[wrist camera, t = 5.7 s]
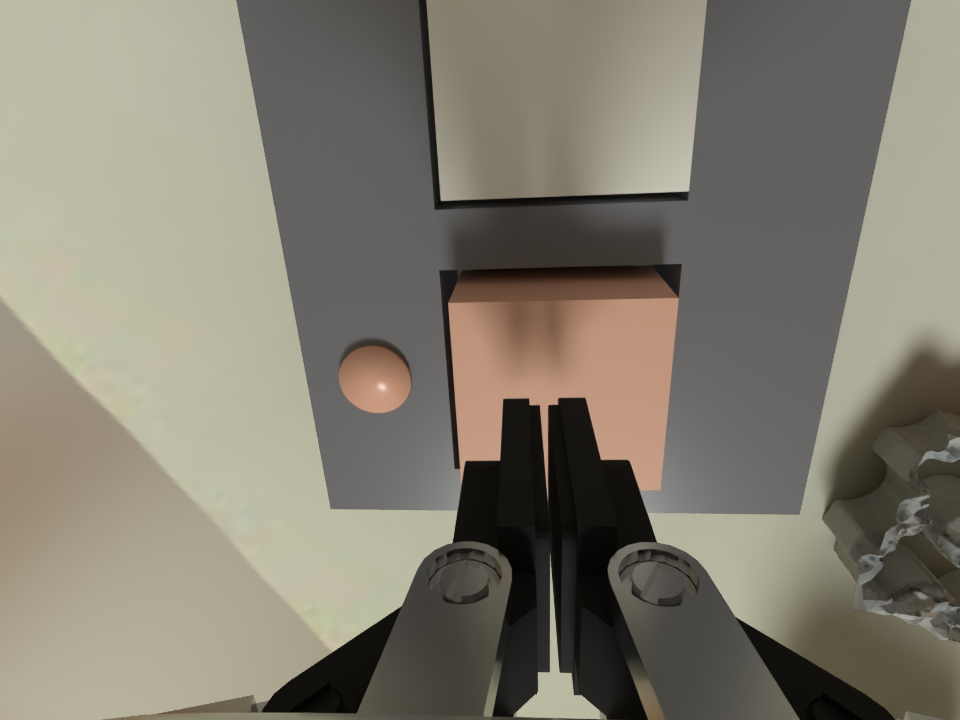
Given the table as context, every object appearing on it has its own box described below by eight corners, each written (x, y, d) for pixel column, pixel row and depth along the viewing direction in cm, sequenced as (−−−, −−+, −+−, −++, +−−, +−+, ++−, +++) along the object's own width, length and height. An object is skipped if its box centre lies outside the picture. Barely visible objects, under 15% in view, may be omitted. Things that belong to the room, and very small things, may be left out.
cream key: (676, -71, 12) (718, -124, 10) (658, 177, 14) (688, 191, 12) (442, -52, 13) (419, -98, 10) (456, 185, 15) (440, 200, 12)
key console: (913, -626, 11) (1159, -1100, 7) (744, 434, 20) (802, 519, 16) (230, -518, 12) (71, -857, 8) (368, 434, 22) (328, 513, 17)
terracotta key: (651, 265, 15) (678, 297, 13) (639, 431, 17) (660, 490, 15) (462, 270, 16) (448, 303, 13) (471, 431, 18) (461, 489, 15)
